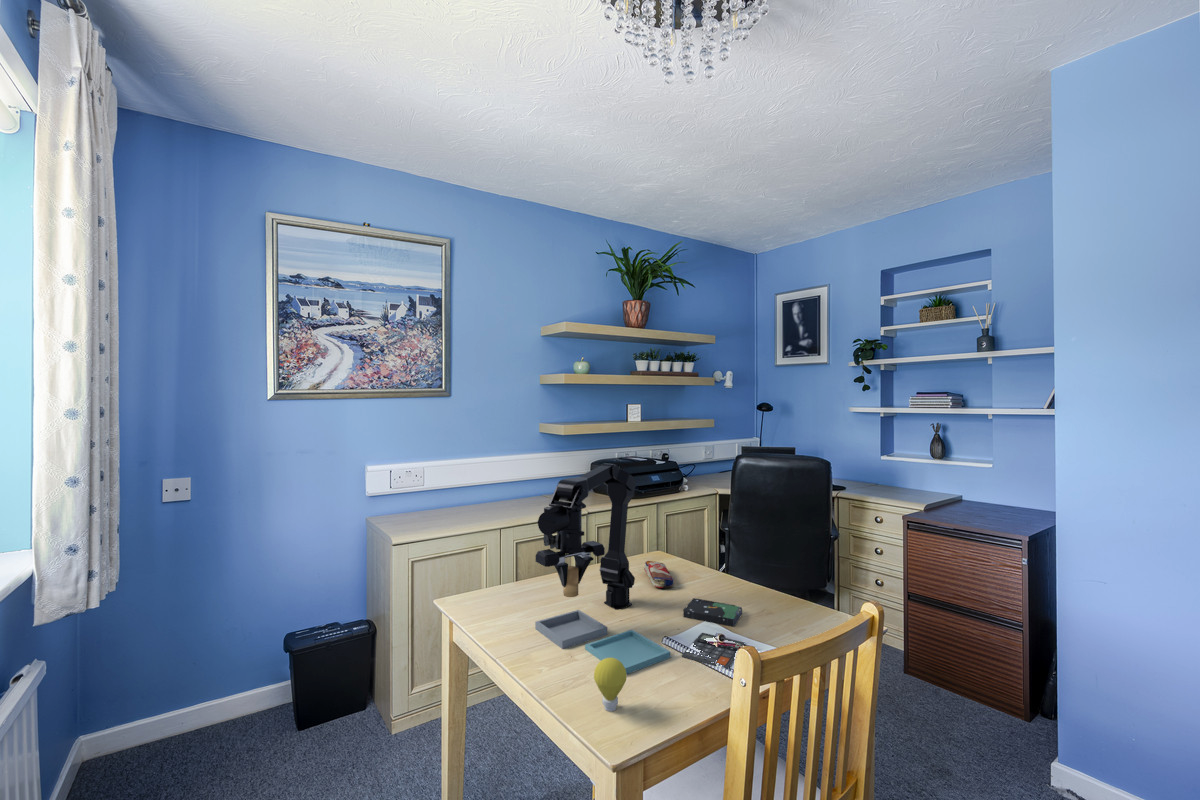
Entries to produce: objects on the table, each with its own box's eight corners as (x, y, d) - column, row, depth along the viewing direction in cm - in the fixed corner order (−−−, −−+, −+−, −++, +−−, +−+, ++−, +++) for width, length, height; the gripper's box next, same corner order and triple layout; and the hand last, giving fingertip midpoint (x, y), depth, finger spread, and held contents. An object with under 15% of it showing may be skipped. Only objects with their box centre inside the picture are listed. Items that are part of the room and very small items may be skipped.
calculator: (681, 654, 132) (702, 631, 145) (680, 658, 132) (702, 635, 145) (727, 667, 126) (745, 641, 139) (727, 671, 126) (745, 645, 139)
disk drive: (682, 619, 156) (734, 628, 149) (682, 610, 156) (734, 618, 149) (693, 606, 165) (742, 614, 158) (693, 597, 165) (742, 605, 158)
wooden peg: (573, 590, 148) (573, 565, 148) (581, 595, 145) (581, 568, 145) (560, 593, 146) (560, 567, 146) (568, 598, 143) (568, 571, 143)
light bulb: (592, 699, 114) (592, 652, 114) (624, 698, 115) (624, 651, 114) (595, 718, 107) (595, 668, 107) (628, 716, 108) (628, 667, 108)
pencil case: (675, 572, 195) (675, 558, 195) (673, 592, 176) (673, 577, 176) (644, 570, 197) (644, 557, 197) (639, 590, 178) (639, 575, 177)
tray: (631, 635, 144) (631, 629, 144) (670, 657, 132) (670, 651, 132) (585, 650, 136) (585, 644, 136) (621, 676, 123) (621, 669, 123)
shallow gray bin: (578, 617, 155) (578, 609, 155) (607, 635, 144) (607, 627, 144) (535, 630, 147) (535, 621, 147) (562, 650, 136) (562, 640, 136)
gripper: (583, 516, 157) (583, 570, 157) (525, 525, 146) (525, 583, 147) (605, 524, 148) (605, 581, 148) (546, 534, 137) (546, 596, 137)
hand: (570, 585), depth 145 cm, fingers closed on wooden peg, 4 cm apart
